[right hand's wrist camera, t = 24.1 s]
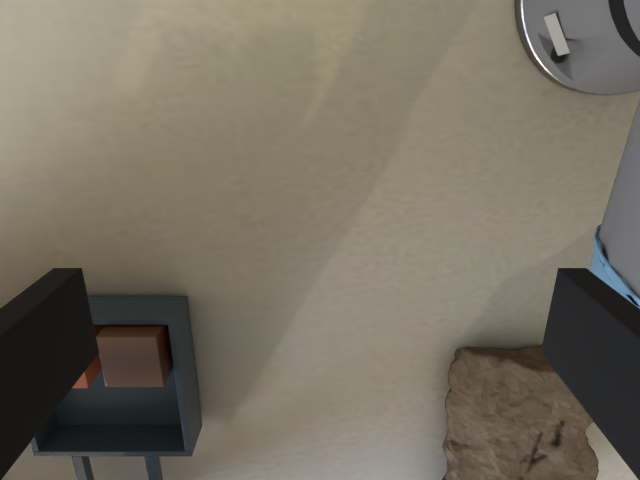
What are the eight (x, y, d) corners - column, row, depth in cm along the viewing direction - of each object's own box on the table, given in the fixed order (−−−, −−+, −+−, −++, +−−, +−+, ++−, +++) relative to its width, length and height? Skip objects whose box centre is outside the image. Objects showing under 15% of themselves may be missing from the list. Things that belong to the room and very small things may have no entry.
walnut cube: (180, 352, 43) (163, 387, 39) (128, 352, 43) (105, 387, 39) (174, 307, 42) (156, 337, 37) (120, 307, 42) (95, 337, 37)
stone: (567, 528, 49) (586, 578, 43) (427, 498, 52) (427, 541, 46) (602, 347, 45) (628, 376, 39) (447, 327, 48) (451, 350, 42)
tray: (23, 295, 42) (-62, 360, 33) (187, 296, 42) (148, 361, 32) (77, 501, 51) (22, 598, 42) (211, 501, 51) (186, 598, 42)
